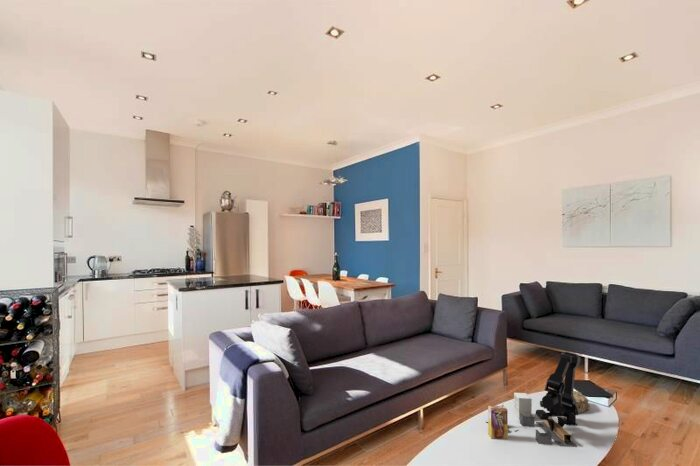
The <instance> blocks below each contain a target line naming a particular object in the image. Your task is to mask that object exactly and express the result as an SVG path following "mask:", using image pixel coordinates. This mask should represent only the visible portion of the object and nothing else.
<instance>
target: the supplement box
mask: <svg viewBox="0 0 700 466" xmlns="http://www.w3.org/2000/svg"><path fill="white" fill-rule="evenodd" d="M532 400H533V399H532V398H531V397H530V396H529V394H528V393H526V392H513V414H514V415H515V416H516V418H517V419H518V420H520V414H522V415H523V416H525V417H530V414H532V412H533V411H532V410H533V409H532V407H533V406H532V402H533V401H532ZM532 415H533V414H532Z"/></svg>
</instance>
